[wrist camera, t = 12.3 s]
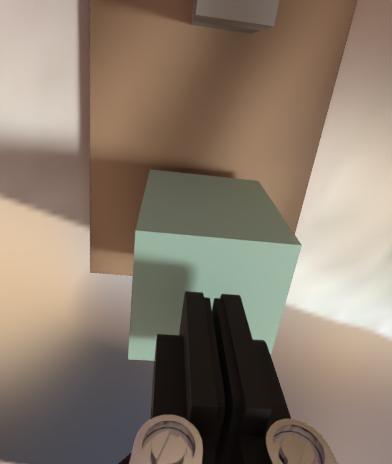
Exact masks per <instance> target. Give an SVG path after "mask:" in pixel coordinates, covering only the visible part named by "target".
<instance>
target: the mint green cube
mask: <svg viewBox="0 0 392 464" xmlns="http://www.w3.org/2000/svg"><path fill="white" fill-rule="evenodd" d="M300 249H301V244H300V242H299V241H298V239H297V238H296V236H295V235H294V233H293V232H292V230H291V229H290V227H289V226H288V224H287V223H286V221H285V220H284V218H283V217H282V215H281V214H280V212H279V211H278V209H277V208H276V206H275V205H274V203H273V202H272V200H271V199H270V197H269V196H268V194H267V193H266V191H265V190H264V188H263V187H262V185H261V184H260V182H259V181H255V180H245V179H236V178H227V177H217V176H208V175H198V174H189V173H179V172H170V171H161V170H151V169H150V171H149V175H148V179H147V184H146V188H145V192H144V196H143V200H142V205H141V209H140V213H139V217H138V222H137V226H136V230H135V246H134V264H133V282H132V299H131V316H130V334H129V352H128V359H134V360H153V361H154V360H155V349H156V339H157V334H166V335H179V331H180V324H181V316H182V308H183V301H184V294H185V291H189V292H203V294H204V297H206V298H210V302H211V308H212V307H213V302H214V299H215V298H220V296H221V294H232V295H240V297H241V300H242V303H243V307H244V310H245V314H246V318H247V321H248V325H249V328H250V332H251V335H252V339H253V340H264V341H265V342H266V344H267V346H268V349H269V353H270V356H271V352H272V348H273V345H274V342H275V338H276V334H277V331H278V327H279V324H280V320H281V316H282V313H283V310H284V306H285V302H286V299H287V295H288V292H289V288H290V285H291V281H292V278H293V274H294V270H295V267H296V263H297V260H298V256H299V253H300Z"/></svg>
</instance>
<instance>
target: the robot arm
mask: <svg viewBox="0 0 392 464" xmlns="http://www.w3.org/2000/svg"><path fill="white" fill-rule="evenodd" d="M119 464H338V462H337V460H336V458H335V456H334V454H333V453H332V451H331V449H330V447H329V446H328V444H327V442H326V441H325V439H324V438H323V437H322V435H321V434H320V433H319V432H318V431H316V430H315V429H314V428H313V427H311V426H310V425H308V424H306V423H305V422H302V421H299V420H295V419H291V417H290V414H289V411H288V408H287V405H286V402H285V399H284V395H283V392H282V389H281V387H280V383H279V380H278V377H277V374H276V371H275V368H274V365H273V362H272V359H271V356H270V353H269V349H268V346H267V344H266V342H265V341H264V340H253V339H252V335H251V332H250V328H249V325H248V321H247V318H246V314H245V310H244V307H243V303H242V300H241V297H240V295H232V294H221V296H220V298H215V299H214V302H213V307H212V308H211V302H210V298H206V297H204V294H203V292H189V291H185V294H184V301H183V308H182V316H181V324H180V331H179V335H166V334H157V339H156V349H155V360H154V373H153V386H152V402H151V417H150V420H149V421H147V422H146V423H145V424H144V425H143V426H142V428H141V429H140V430H139V432H138V434H137V436H136V439H135V443H134V446H133V451H132V453H130V454H129V455H128V456H127V457H126V458H125V459H123V460H122V461H121V462H120V463H119Z"/></svg>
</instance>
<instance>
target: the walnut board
mask: <svg viewBox="0 0 392 464" xmlns="http://www.w3.org/2000/svg"><path fill="white" fill-rule="evenodd" d="M356 3H357V0H90V272H91V273H103V274H116V275H129V276H133V264H134V246H135V230H136V226H137V222H138V217H139V213H140V209H141V205H142V200H143V196H144V192H145V188H146V184H147V179H148V175H149V171H150V169H151V170H161V171H170V172H179V173H189V174H198V175H208V176H217V177H227V178H236V179H245V180H255V181H259V182H260V184H261V185H262V187H263V188H264V190H265V191H266V193H267V194H268V196H269V197H270V199H271V200H272V202H273V203H274V205H275V206H276V208H277V209H278V211H279V212H280V214H281V215H282V217H283V218H284V220H285V221H286V223H287V224H288V226H289V227H290V229H291V230H292V232H293V233H294V235H295V231H296V227H297V224H298V220H299V216H300V212H301V209H302V205H303V201H304V197H305V194H306V190H307V186H308V182H309V179H310V175H311V171H312V168H313V164H314V160H315V156H316V153H317V149H318V145H319V141H320V138H321V134H322V130H323V126H324V123H325V119H326V115H327V112H328V108H329V104H330V100H331V97H332V93H333V89H334V85H335V82H336V78H337V74H338V70H339V67H340V63H341V59H342V56H343V52H344V48H345V44H346V41H347V37H348V33H349V29H350V26H351V22H352V18H353V14H354V11H355V7H356Z"/></svg>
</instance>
